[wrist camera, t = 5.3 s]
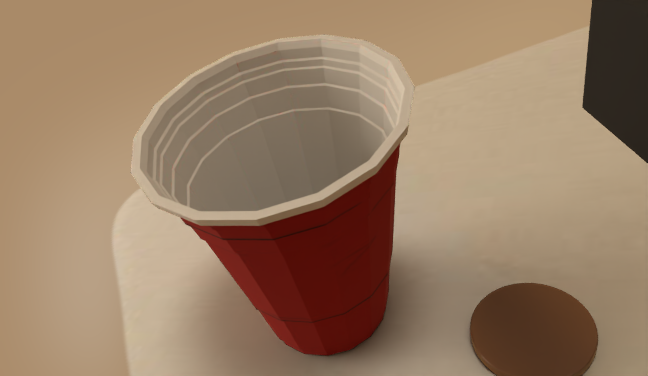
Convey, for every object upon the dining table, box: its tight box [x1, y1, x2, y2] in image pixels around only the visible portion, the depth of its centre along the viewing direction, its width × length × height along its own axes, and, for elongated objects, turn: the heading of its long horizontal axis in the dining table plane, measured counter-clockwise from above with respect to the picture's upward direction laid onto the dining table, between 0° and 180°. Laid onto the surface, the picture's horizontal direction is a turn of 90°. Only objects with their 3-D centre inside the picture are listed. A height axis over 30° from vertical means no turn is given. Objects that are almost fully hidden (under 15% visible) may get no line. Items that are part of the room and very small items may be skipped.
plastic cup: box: [131, 34, 415, 356], centre depth 26 cm, size 11×11×12 cm
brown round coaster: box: [470, 283, 598, 376], centre depth 26 cm, size 5×5×1 cm
